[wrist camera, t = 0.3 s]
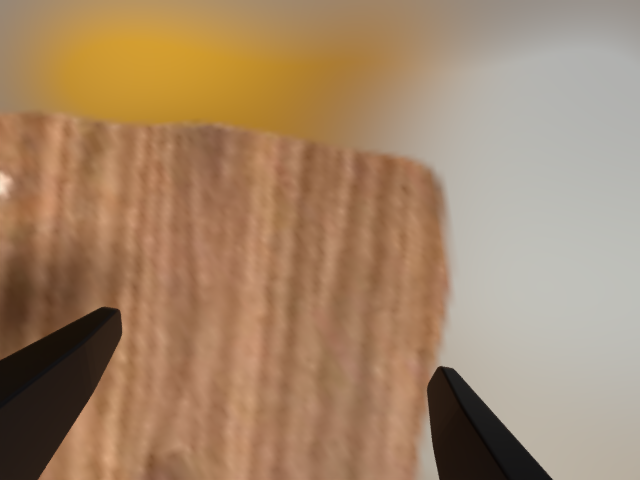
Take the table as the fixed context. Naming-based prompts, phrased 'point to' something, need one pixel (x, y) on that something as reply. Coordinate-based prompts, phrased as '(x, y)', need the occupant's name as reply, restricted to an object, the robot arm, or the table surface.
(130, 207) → the table surface
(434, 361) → the table surface
